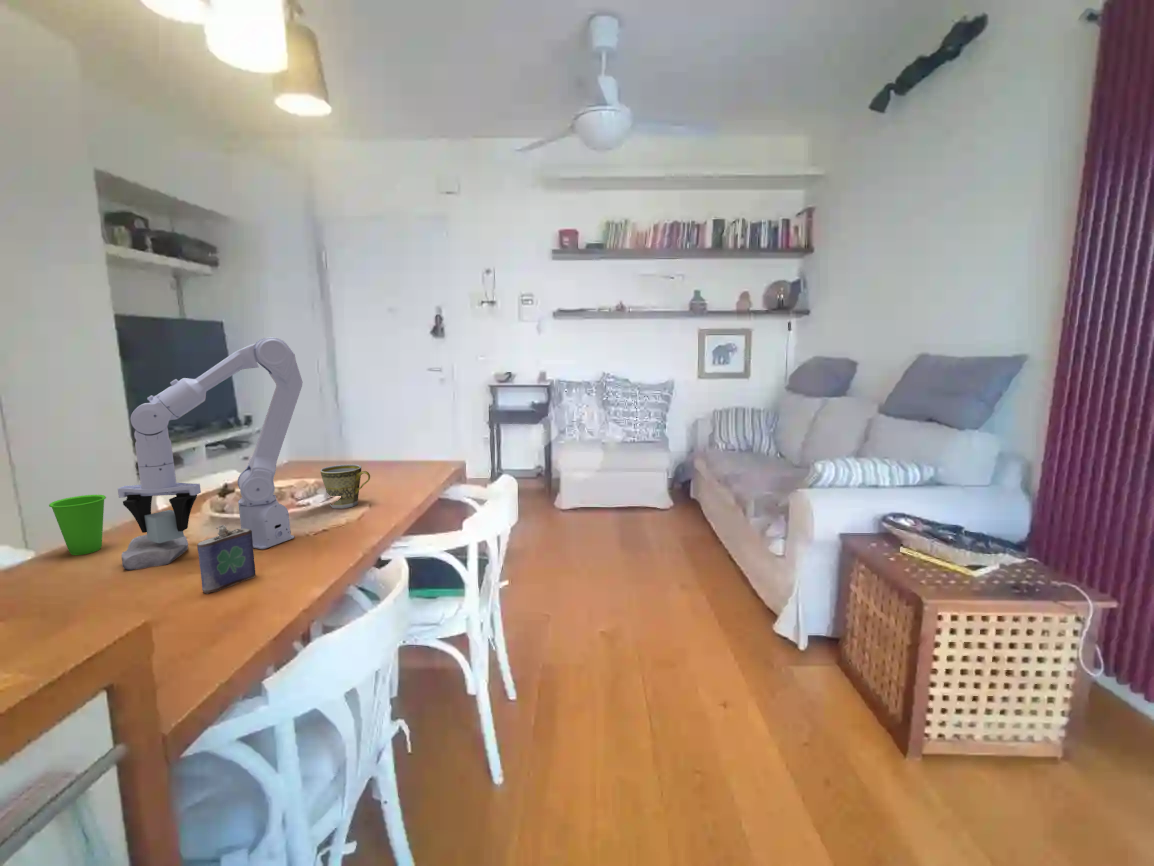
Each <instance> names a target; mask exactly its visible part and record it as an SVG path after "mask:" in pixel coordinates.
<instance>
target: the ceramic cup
mask: <svg viewBox="0 0 1154 866" xmlns="http://www.w3.org/2000/svg"><path fill="white" fill-rule="evenodd" d="M363 474H366V475H367V476H368V477H367V480H365V482H363V483H361V476H362V475H363ZM320 475H321V479H322V482H323V485H324V487H325V492H326V494H327V493H328V494H329V495H330V496H341V498H340V499H339V500H338V501H336V502H335V503H334V505H331V504H330V503H329V506H330V507H331V508H332V509H339V510H340V509H341V510H342V509H347V508H349V509H350V508H353V507H355V506H357V505H358V504H359V495H360V490H361V489H362V488H363V487H364V486H365V485H366V484H367V483H368V482H369V481H370V479H371V475H370V473H369V471H366V470H363V471H362V465H359V464H349V463H348V464H338V465H331V466H330V465H329V466H326V467H322V468H321V469H320Z"/></svg>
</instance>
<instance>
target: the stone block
mask: <svg viewBox="0 0 1154 866" xmlns="http://www.w3.org/2000/svg"><path fill="white" fill-rule="evenodd" d="M188 548H189V543H188V539H187V536H186V535H184V537H181V538H177V539H173V540H170V541H166V542H162V543H156V542H153V541H150V540H148V537H147V534H143V535H138V536H136V537H134V538H132V539H131V541H130V542H129V543H128V547H127V549H126V550H125V551H122V553H121V566H122V568H123V569H124V570H126V571H134V570H140V569H145V568H151V567H160V566H166V565H167V566H168V565H169V564H171V563H172V562H173V561H175V560H176V559H178V557H181V556H182V555H183V554H184V553H185V552H186V551H188Z"/></svg>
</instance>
